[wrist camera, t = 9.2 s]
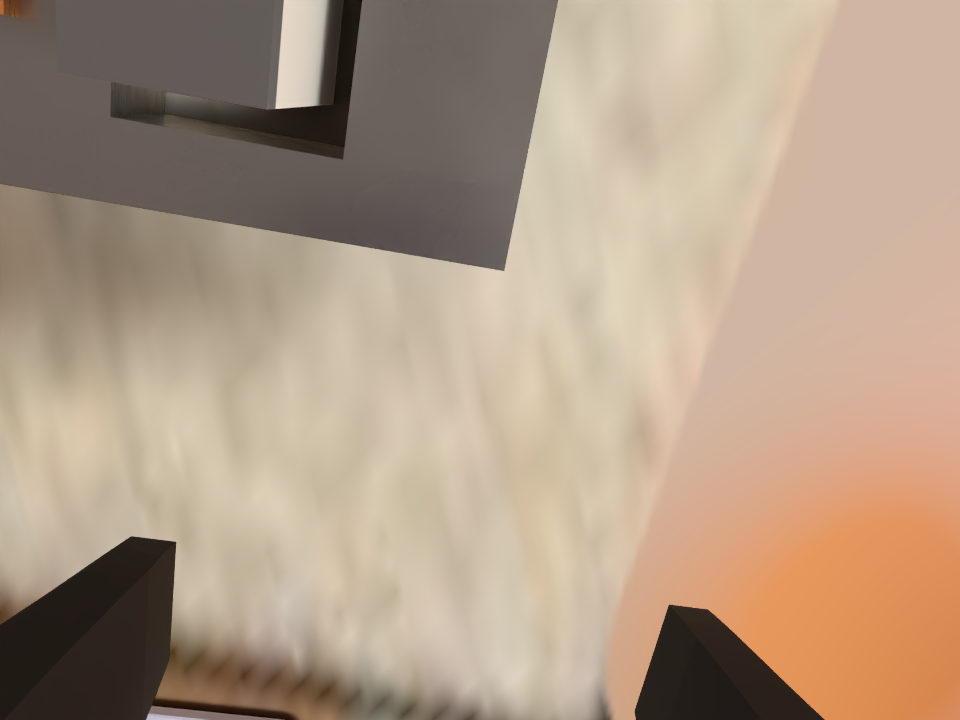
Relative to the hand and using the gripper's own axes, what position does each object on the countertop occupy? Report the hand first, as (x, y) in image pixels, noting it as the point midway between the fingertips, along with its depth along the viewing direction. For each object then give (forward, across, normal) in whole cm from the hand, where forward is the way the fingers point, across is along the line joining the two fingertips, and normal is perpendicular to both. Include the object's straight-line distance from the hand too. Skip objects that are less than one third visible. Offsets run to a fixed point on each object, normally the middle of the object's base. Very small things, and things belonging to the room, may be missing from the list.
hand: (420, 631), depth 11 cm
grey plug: (+10, +5, -8) cm, 14 cm away
